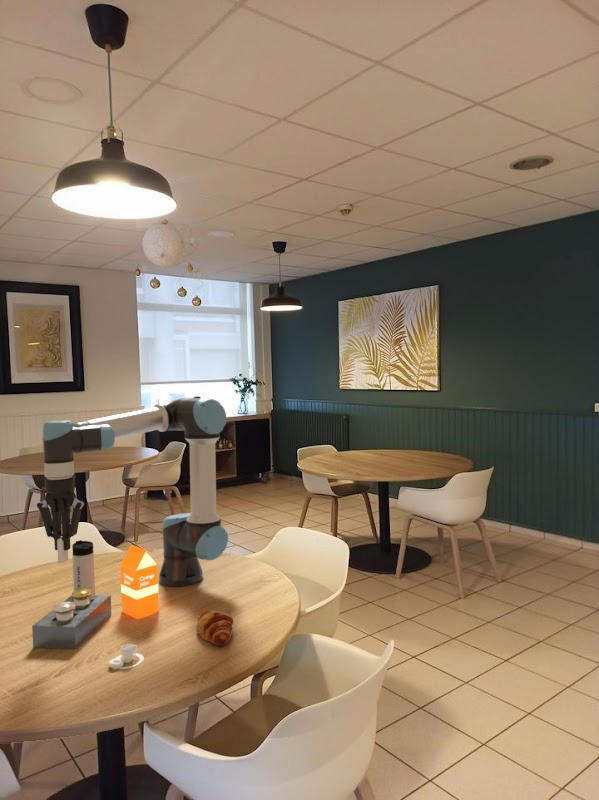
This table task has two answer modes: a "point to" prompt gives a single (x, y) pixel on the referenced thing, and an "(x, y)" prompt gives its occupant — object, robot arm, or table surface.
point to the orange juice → (139, 583)
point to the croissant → (215, 626)
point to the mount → (71, 624)
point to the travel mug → (83, 565)
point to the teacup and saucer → (126, 657)
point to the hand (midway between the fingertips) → (63, 561)
